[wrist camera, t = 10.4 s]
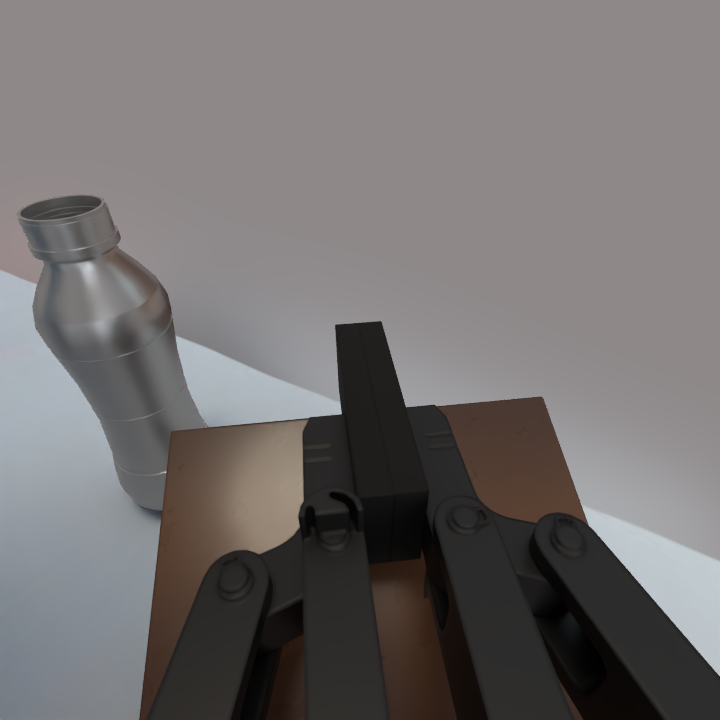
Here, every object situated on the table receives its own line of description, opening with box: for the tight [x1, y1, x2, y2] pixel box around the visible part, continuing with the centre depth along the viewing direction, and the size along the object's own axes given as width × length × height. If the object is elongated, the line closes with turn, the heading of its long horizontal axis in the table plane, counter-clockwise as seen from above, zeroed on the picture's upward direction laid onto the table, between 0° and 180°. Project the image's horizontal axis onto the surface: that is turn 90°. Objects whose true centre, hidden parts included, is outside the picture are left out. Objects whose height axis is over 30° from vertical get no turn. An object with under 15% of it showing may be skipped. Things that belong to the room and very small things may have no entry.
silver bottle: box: [17, 195, 208, 511], centre depth 26 cm, size 6×7×20 cm
